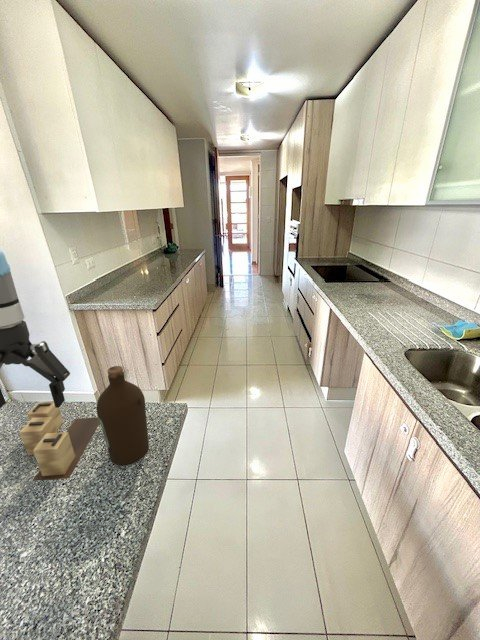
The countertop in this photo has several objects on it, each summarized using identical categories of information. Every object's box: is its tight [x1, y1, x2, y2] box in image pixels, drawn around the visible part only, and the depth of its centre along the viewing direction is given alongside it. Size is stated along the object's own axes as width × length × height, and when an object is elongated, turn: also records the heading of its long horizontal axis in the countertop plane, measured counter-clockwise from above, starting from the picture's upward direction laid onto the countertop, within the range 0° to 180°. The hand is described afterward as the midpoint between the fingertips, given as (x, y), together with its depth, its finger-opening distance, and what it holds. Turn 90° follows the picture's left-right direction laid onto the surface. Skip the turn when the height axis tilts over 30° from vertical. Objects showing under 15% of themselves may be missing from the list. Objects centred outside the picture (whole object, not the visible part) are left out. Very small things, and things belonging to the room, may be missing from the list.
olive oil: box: [96, 365, 150, 467], centre depth 63 cm, size 11×11×25 cm
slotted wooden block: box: [26, 400, 64, 431], centre depth 73 cm, size 5×5×8 cm
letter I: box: [19, 417, 59, 456], centre depth 67 cm, size 5×5×8 cm
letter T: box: [33, 431, 75, 476], centre depth 61 cm, size 5×5×8 cm
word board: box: [32, 416, 100, 482], centre depth 69 cm, size 8×20×1 cm, turn 6°
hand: (30, 405), depth 63 cm, fingers open, 13 cm apart
